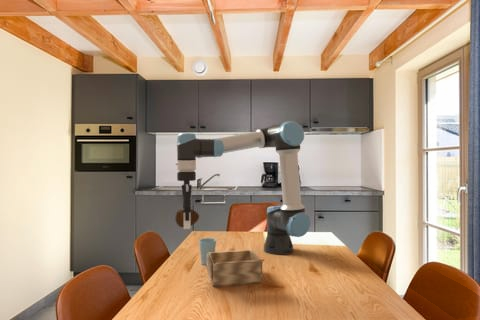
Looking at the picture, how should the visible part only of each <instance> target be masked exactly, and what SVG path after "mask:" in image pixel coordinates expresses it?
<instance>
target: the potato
mask: <svg viewBox="0 0 480 320" xmlns="http://www.w3.org/2000/svg"><path fill="white" fill-rule="evenodd" d="M182 211H184V209H183V208H182V209H178V210H177V211H176V213H175V216H174V217H175V222H176V225H178V227H180V228H184V213H182ZM199 218H200V215H199V213H198V212H197V211H196V210H194V209H192V208H191V227H192V226H193V225H195V224H196V223H197V222H198V221H199Z"/></svg>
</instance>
